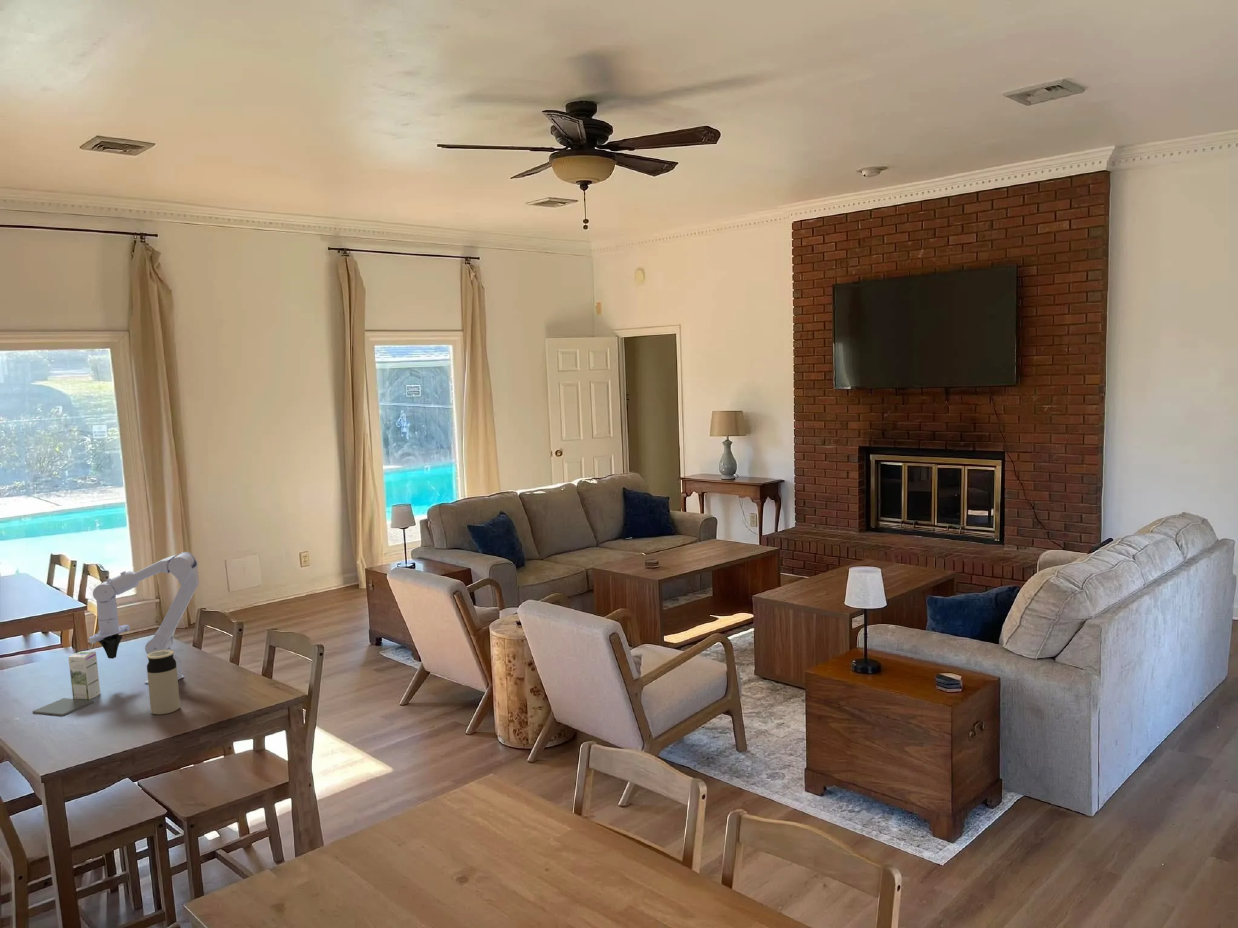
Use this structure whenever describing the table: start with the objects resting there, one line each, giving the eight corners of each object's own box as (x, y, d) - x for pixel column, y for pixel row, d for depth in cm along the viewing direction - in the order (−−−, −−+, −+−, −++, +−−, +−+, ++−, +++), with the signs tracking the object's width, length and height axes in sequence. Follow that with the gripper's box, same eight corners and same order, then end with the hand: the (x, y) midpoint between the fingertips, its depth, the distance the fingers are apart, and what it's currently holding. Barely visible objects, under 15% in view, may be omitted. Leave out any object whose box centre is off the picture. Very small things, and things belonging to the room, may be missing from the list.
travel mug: (168, 715, 267) (162, 657, 265) (145, 714, 268) (139, 657, 266) (185, 705, 275) (180, 649, 273) (163, 704, 276) (158, 648, 274)
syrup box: (101, 693, 288) (97, 650, 286) (88, 700, 282) (84, 656, 280) (85, 693, 288) (80, 650, 287) (72, 700, 282) (67, 656, 281)
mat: (93, 702, 280) (93, 700, 280) (63, 715, 269) (62, 714, 269) (64, 699, 283) (63, 697, 283) (32, 712, 273) (32, 710, 273)
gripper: (116, 611, 301) (120, 650, 303) (79, 623, 287) (83, 664, 289) (133, 612, 299) (136, 651, 301) (97, 624, 285) (101, 665, 287)
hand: (112, 657), depth 295 cm, fingers closed
